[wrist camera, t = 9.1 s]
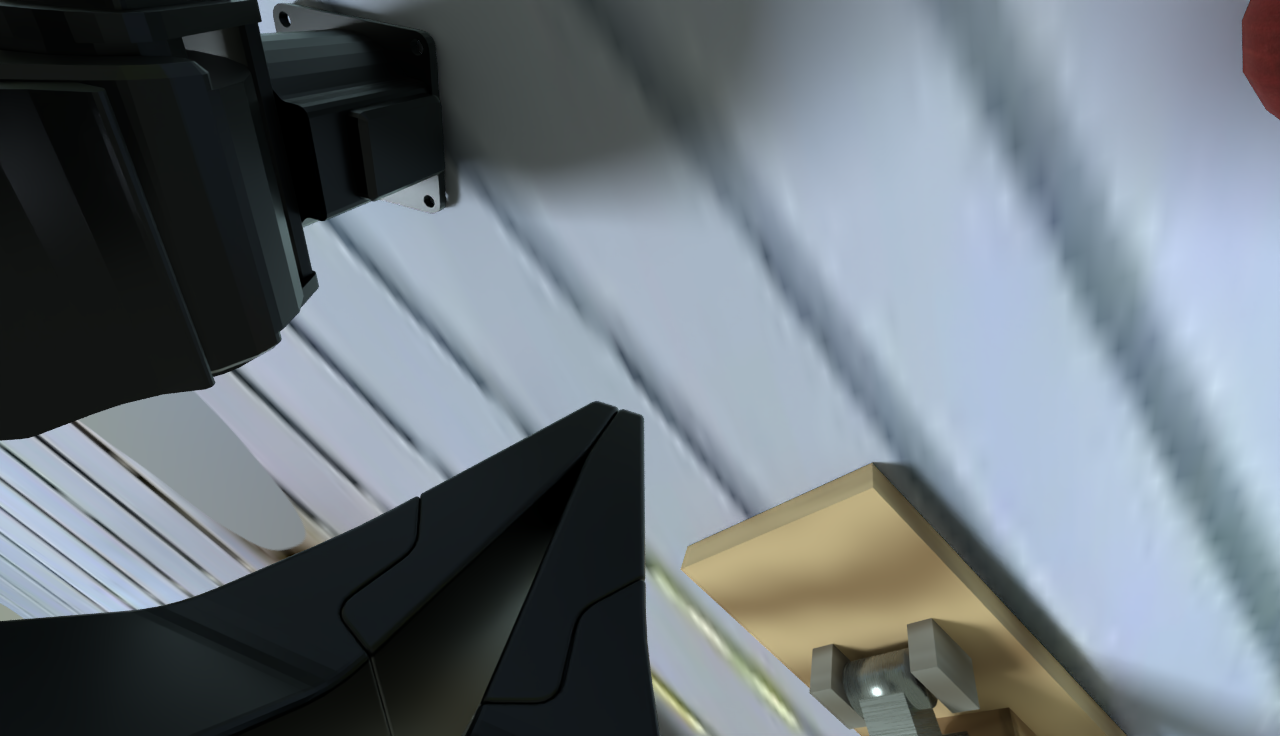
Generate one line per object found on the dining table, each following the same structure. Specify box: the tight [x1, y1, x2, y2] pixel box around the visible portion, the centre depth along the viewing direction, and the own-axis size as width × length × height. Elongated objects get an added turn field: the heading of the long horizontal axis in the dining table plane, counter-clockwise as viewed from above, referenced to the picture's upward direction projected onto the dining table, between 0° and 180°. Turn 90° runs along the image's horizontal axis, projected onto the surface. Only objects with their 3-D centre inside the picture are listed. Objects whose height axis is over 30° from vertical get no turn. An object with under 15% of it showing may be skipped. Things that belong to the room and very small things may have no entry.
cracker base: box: [681, 463, 1127, 736], centre depth 27 cm, size 20×11×4 cm, turn 46°
